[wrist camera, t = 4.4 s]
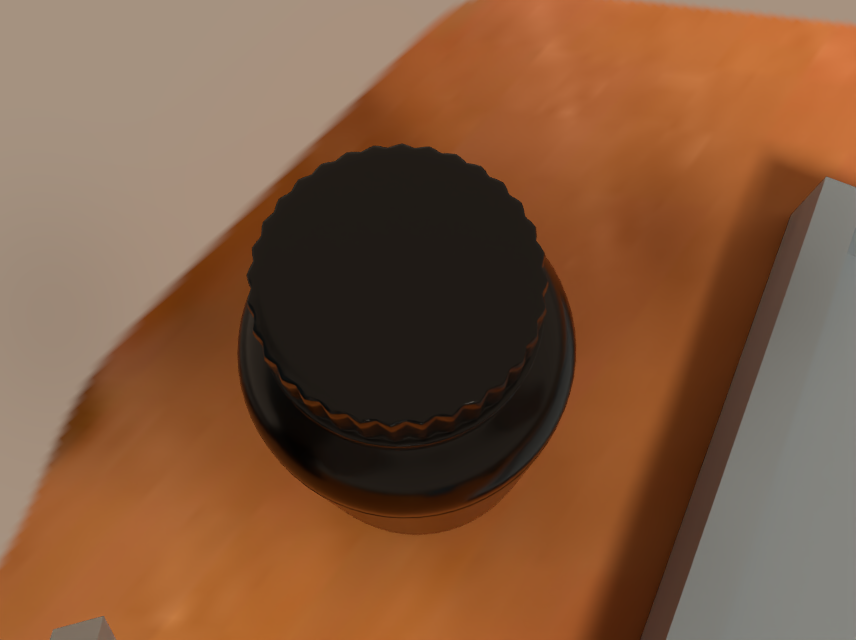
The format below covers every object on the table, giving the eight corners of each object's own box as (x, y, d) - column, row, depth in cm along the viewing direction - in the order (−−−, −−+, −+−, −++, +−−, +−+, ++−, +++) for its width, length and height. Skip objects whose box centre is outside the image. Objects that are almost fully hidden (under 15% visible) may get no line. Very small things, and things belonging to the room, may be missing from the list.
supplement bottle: (256, 441, 24) (81, 305, 12) (400, 270, 25) (362, 12, 14) (440, 592, 22) (433, 595, 11) (580, 401, 24) (701, 231, 13)
